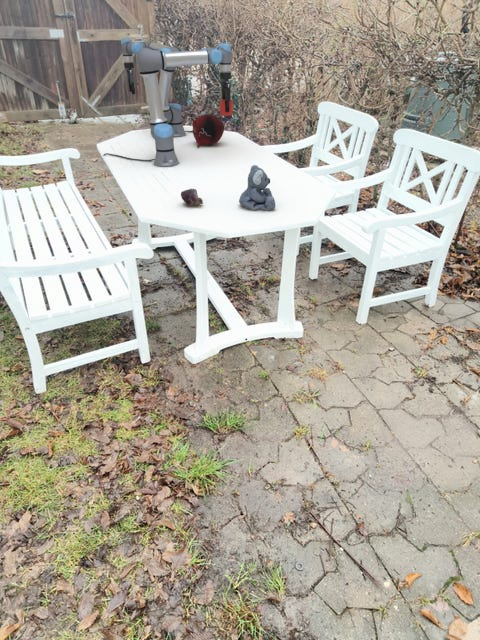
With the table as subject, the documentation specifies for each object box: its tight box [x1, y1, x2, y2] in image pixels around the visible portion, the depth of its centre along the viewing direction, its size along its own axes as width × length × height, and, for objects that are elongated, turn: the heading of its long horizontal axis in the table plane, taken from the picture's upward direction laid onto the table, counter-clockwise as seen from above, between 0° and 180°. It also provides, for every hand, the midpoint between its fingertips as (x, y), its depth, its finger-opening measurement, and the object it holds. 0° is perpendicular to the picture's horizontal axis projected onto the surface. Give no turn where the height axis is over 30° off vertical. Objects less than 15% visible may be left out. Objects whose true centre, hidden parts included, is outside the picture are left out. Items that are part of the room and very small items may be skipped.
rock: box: [180, 188, 204, 207], centre depth 229 cm, size 12×9×10 cm
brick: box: [219, 98, 234, 117], centre depth 299 cm, size 5×8×9 cm, turn 108°
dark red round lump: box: [190, 113, 225, 149], centre depth 332 cm, size 21×24×25 cm
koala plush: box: [238, 164, 276, 211], centre depth 224 cm, size 17×18×20 cm
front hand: (226, 111), depth 301 cm, fingers closed on brick, 5 cm apart
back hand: (132, 92), depth 357 cm, fingers open, 13 cm apart
